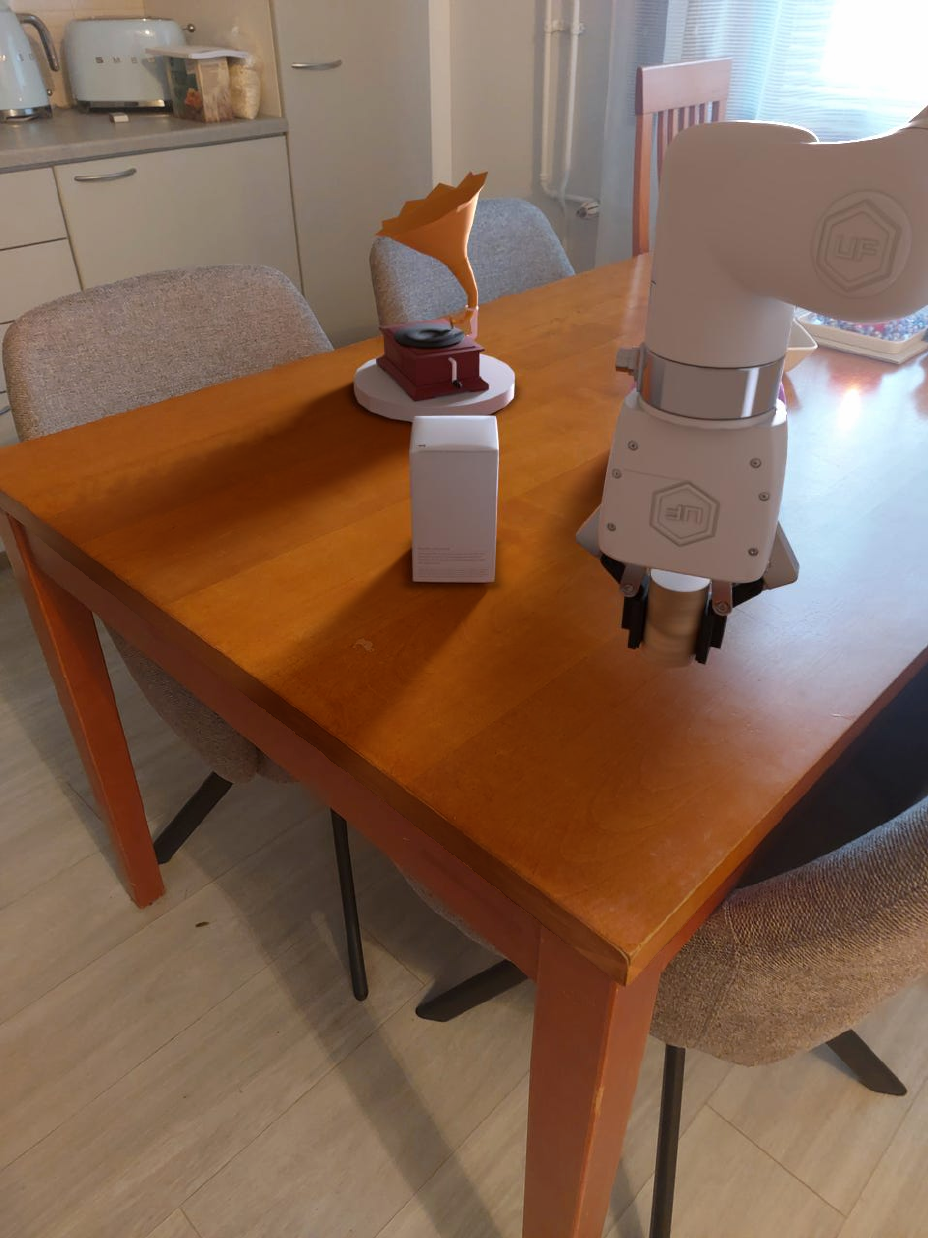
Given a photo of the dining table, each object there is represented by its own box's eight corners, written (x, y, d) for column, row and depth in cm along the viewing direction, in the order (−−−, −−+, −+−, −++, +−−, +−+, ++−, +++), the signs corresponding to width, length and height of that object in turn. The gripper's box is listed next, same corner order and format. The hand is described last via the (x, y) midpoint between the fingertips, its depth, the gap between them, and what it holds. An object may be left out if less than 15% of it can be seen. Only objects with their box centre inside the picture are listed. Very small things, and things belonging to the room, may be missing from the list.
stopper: (702, 641, 61) (715, 566, 57) (692, 673, 58) (705, 597, 55) (647, 629, 62) (656, 555, 59) (635, 661, 59) (644, 585, 56)
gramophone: (475, 354, 125) (477, 155, 110) (543, 407, 110) (555, 184, 95) (334, 374, 118) (316, 166, 104) (385, 434, 103) (373, 199, 88)
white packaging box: (495, 584, 78) (499, 450, 70) (411, 583, 78) (405, 450, 70) (494, 540, 84) (498, 413, 76) (415, 540, 84) (411, 412, 76)
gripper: (544, 383, 49) (534, 649, 60) (868, 424, 44) (794, 708, 54) (581, 342, 55) (566, 592, 65) (873, 373, 49) (805, 640, 60)
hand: (670, 642), depth 60 cm, fingers closed on stopper, 3 cm apart
